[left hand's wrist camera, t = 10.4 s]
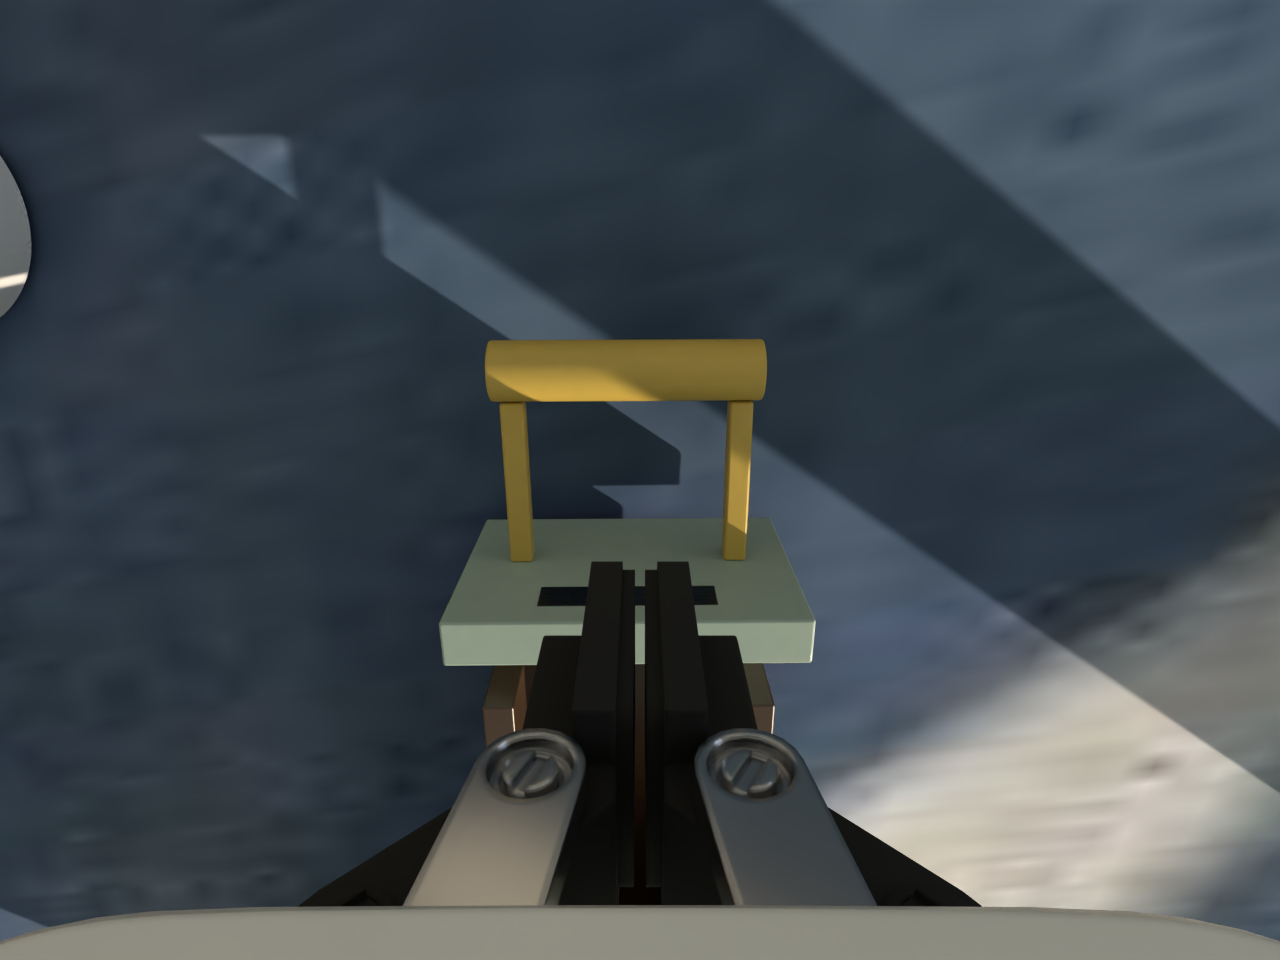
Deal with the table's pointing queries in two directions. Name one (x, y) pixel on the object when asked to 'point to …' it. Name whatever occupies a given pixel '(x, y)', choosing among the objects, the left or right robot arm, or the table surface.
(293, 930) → the left robot arm
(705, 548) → the drawer
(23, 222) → the coffee cup
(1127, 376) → the table surface
